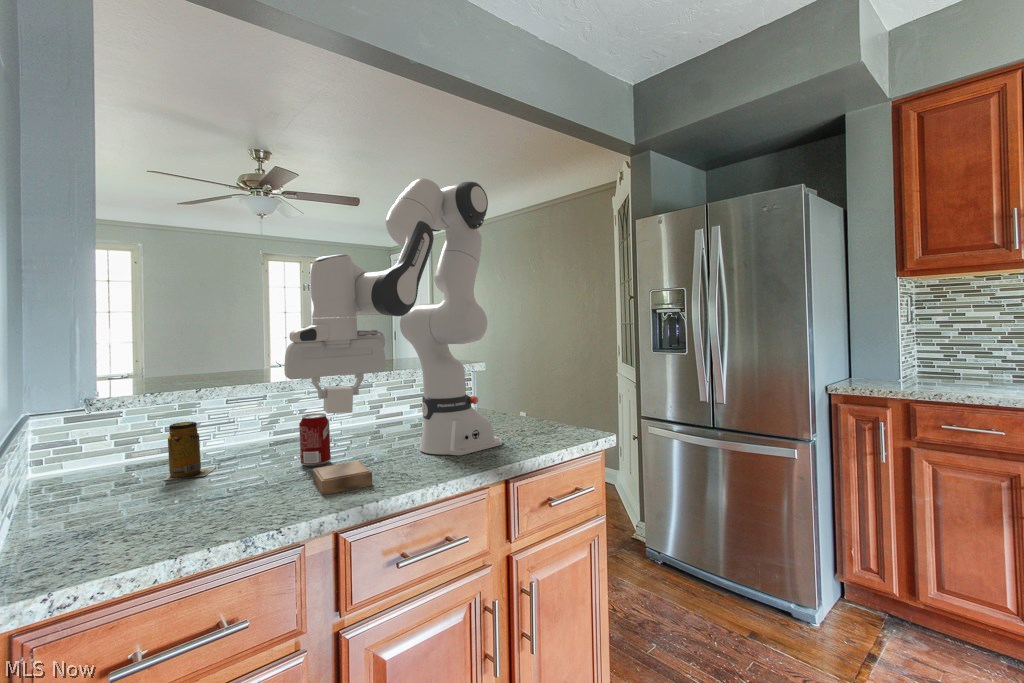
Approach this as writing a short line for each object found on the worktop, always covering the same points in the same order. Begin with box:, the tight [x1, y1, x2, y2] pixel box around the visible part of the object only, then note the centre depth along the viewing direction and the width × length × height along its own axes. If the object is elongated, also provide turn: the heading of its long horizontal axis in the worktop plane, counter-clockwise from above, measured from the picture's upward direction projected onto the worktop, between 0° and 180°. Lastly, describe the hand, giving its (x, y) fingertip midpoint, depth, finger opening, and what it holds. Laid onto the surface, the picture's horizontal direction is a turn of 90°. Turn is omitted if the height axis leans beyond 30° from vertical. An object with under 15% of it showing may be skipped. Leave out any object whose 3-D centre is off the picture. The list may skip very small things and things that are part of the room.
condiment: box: [162, 421, 216, 481], centre depth 111 cm, size 7×8×12 cm
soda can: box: [298, 412, 331, 468], centre depth 117 cm, size 7×7×12 cm
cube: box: [323, 385, 354, 415], centre depth 102 cm, size 5×5×5 cm
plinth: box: [312, 460, 373, 496], centre depth 102 cm, size 10×10×3 cm
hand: (338, 396), depth 102 cm, fingers closed on cube, 5 cm apart
